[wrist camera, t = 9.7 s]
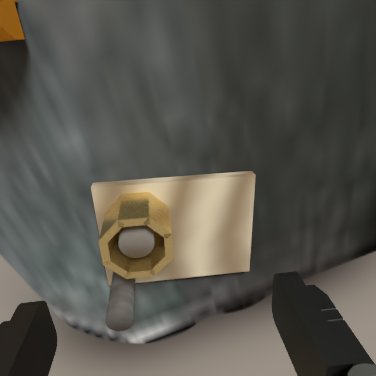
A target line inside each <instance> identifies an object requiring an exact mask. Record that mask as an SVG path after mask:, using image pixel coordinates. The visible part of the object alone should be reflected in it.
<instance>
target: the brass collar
mask: <svg viewBox="0 0 376 376" xmlns="http://www.w3.org/2000/svg"><path fill="white" fill-rule="evenodd" d="M140 225H147V226H148V227H150V228H151V229H153V230H154V231H156V232H157V233H156V234H155V235H154V248H153V250H152V251H151V252H150V253H149V254H148V255H146V256H144V257H141V258H132V257H129V256H126V255H125V254H123V253H122V252H121V250H120V248H119V244H118V242H119V235H120V233H119V232H118V231H119V230H120V229H121V228H122V227H129V226H140ZM99 246H100V251H101V257H102V262H103V265H104V266H105V267H107V268H109V269H110V270H112V271H114V272H115V273H117V274H119V275H120V276H122V277H124V278H125V279H131V278H141V277H150V276H155V275H156V274H157V273H158V272H159V271H161V270H162V269H163V268H164V267H165V266H166V265H167V264H168V263H169V262H170V261H171V260H172V259H173V258H174V257H173V243H172V230H171V222H170V214H169V207H168V206H167V205H166V204H164V203H163V202H162V201H160V200H159V199H158V198H156V197H155V196H154V195H153V194H151V193H150V192H138V193H125V194H121V195H120V196H119V198H118V199H117V200H116V201H115V202H114V203H113V204H112V205H111V206H110V207H109V209H108V210H107V211H106V212H105V216H104V220H103V224H102V228H101V232H100V236H99Z"/></svg>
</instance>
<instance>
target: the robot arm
mask: <svg viewBox="0 0 376 376" xmlns="http://www.w3.org/2000/svg"><path fill="white" fill-rule="evenodd" d="M272 313H273V318H274V321H275V324H276V327H277V329H278V331H279V333H280V336H281V338H282V340H283V343H284V345H285V347H286V350H287V352H288V354H289V357H290V359H291V361H292V364H293V366H294V368H295V371H296V373H297V375H298V376H376V365H375V364H374V362H373V361H372V360H371V358H370V357H369V355H368V354H367V353H366V351H365V350H364V348H363V347H362V345H361V344H360V342H359V341H358V339H357V338H356V336H355V335H354V333H353V332H352V331H351V329H350V328H349V326H348V325H347V323H346V322H345V321H344V320H343V318H342V316H341V314H340V313H339V312H338V310H336V308H335V306H334V304H333V303H332V301H331V300H330V299H329V297H328V295H327V294H325V293H324V292H323V291H322V290H320V289H319V288H318V287H316V286H315V285H307V286H306V285H305V284H304V282H303V280H302V279H301V277H300V275H299V274H298V273H297V272H287V273H279V274H275V275H274V279H273V296H272ZM56 347H57V333H56V330H55V327H54V324H53V321H52V318H51V316H50V312H49V309H48V306H47V303H46V302H45V301H37V302H28V303H21V304H20V305H19V306H18V307H17V309H16V310H15V312H14V314H13V316H12V318H11V320H10V321H5V322H2V323H1V324H0V376H48V374H49V371H50V368H51V365H52V361H53V358H54V355H55V352H56Z"/></svg>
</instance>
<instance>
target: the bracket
mask: <svg viewBox="0 0 376 376" xmlns="http://www.w3.org/2000/svg"><path fill="white" fill-rule="evenodd" d="M15 2H18V1H17V0H0V42H2V41H12V40H22V39H25V38H24V34H23V31H22V27H21V24H20V20H19V16H18V13H17V9H16V6H15Z"/></svg>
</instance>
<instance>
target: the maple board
mask: <svg viewBox="0 0 376 376" xmlns="http://www.w3.org/2000/svg"><path fill="white" fill-rule="evenodd" d="M254 190H255V174H254V173H253V172H252V171H244V172H230V173H217V174H204V175H191V176H177V177H164V178H151V179H137V180H124V181H111V182H97V183H93V184H92V187H91V191H92V196H93V202H94V207H95V213H96V219H97V224H98V230H99V235H100V232H101V228H102V224H103V220H104V216H105V212H106V211H107V210H108V209H109V207H110V206H111V205H112V204H113V203H114V202H115V201H116V200H117V199H118V198H119V196H120V195H121V194H125V193H138V192H150V193H151V194H153V195H154V196H155V197H156V198H158V199H159V200H160V201H162V202H163V203H164V204H166V205H167V206H168V207H169V214H170V222H171V230H172V243H173V257H174V258H173V259H172V260H171V261H170V262H169V263H168V264H167V265H166V266H165V267H164V268H163V269H162V270H161V271H159V272H158V273H157V274H156V275H155V276H150V277H141V278H131V279H125V278H124V277H122V276H120V275H119V274H117V273H115V272H114V271H112V270H110V269H109V268H107V267H105V269H106V274H107V280H108V285H109V286H111V289H110V296H109V303H108V310H107V316H106V324H107V326H108V327H109V328H110V329H112V330H115V331H123V330H126V329H128V328H130V327H131V326H132V324H133V319H134V299H135V283H141V282H150V281H160V280H169V279H179V278H189V277H198V276H208V275H217V274H227V273H236V272H246V271H249V268H250V253H251V237H252V221H253V206H254ZM118 232H119V233H120V235H119V242H118V244H119V248H120V250H121V252H122V253H123V254H125V255H126V256H129V257H132V258H141V257H144V256H146V255H148V254H149V253H150V252H151V251H152V250H153V248H154V235H155V234H156V233H157V232H156V231H154V230H153V229H151V228H150V227H148V226H147V225H140V226H129V227H122V228H121V229H120V230H119V231H118Z"/></svg>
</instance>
